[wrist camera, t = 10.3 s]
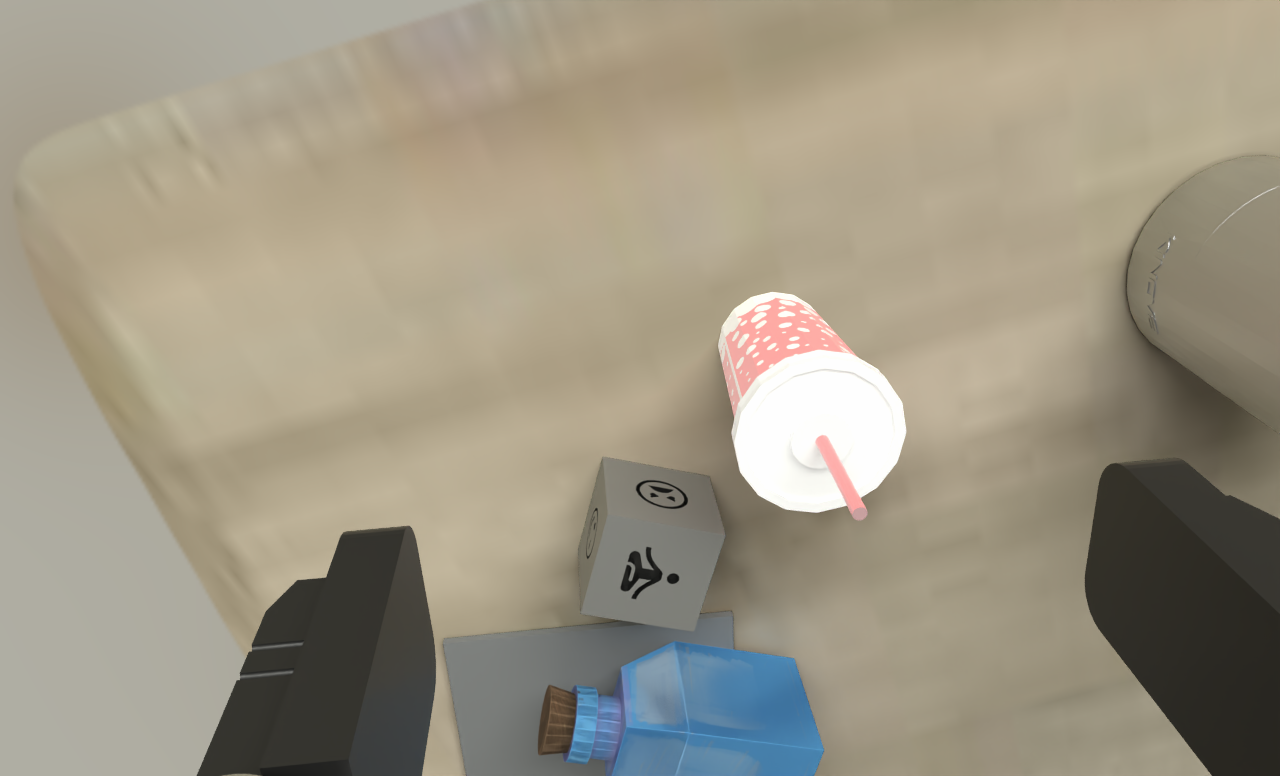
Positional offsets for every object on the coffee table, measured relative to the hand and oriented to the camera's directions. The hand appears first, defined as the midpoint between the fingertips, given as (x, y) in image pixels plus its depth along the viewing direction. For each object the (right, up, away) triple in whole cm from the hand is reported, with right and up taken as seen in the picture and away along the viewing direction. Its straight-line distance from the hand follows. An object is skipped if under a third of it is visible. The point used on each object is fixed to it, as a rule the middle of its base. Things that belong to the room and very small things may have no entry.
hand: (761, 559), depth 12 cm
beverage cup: (+4, +4, +32) cm, 32 cm away
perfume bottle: (+6, -16, +37) cm, 41 cm away
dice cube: (-1, -4, +35) cm, 35 cm away
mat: (-3, -16, +40) cm, 43 cm away
